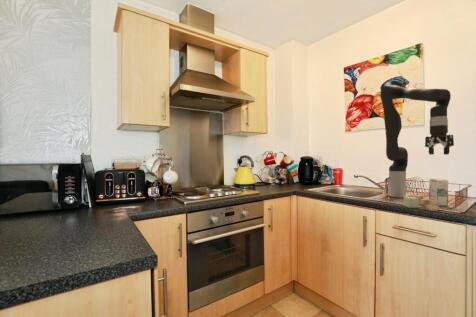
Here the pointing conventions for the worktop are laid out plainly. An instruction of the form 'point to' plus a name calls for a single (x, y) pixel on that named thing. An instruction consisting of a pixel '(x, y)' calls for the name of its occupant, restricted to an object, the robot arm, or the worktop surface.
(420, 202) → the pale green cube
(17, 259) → the worktop surface
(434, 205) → the beech cube
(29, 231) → the worktop surface
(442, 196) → the syrup box
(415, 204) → the sage cube
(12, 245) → the worktop surface
